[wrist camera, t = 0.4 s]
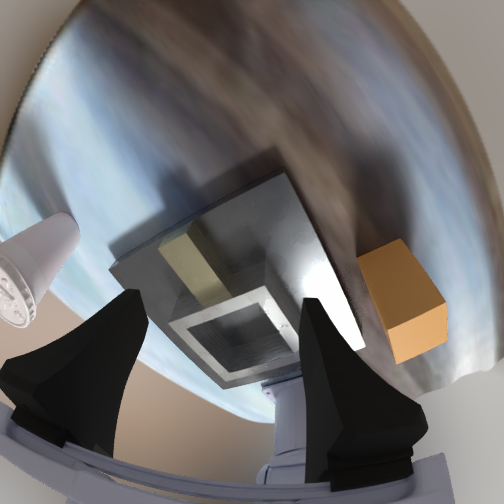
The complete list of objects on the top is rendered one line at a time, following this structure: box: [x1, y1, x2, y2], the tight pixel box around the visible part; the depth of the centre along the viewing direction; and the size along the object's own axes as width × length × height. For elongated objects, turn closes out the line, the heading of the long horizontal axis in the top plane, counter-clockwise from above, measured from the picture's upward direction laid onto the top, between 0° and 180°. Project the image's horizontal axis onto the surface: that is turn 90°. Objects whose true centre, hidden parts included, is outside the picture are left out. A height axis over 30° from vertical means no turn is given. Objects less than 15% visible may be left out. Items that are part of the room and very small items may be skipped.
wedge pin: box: [357, 238, 447, 364], centre depth 18 cm, size 4×4×8 cm
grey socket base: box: [109, 167, 366, 390], centre depth 22 cm, size 18×16×4 cm
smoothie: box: [0, 212, 80, 328], centre depth 16 cm, size 6×6×14 cm
